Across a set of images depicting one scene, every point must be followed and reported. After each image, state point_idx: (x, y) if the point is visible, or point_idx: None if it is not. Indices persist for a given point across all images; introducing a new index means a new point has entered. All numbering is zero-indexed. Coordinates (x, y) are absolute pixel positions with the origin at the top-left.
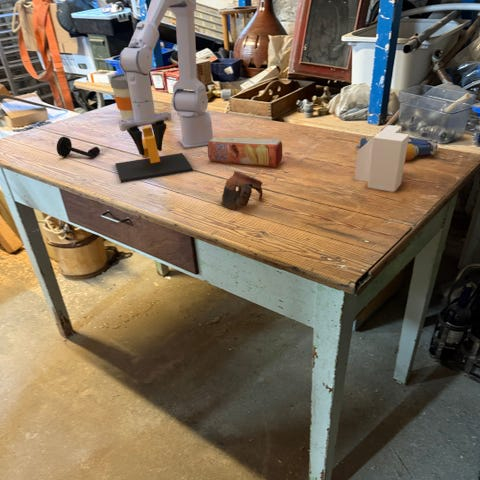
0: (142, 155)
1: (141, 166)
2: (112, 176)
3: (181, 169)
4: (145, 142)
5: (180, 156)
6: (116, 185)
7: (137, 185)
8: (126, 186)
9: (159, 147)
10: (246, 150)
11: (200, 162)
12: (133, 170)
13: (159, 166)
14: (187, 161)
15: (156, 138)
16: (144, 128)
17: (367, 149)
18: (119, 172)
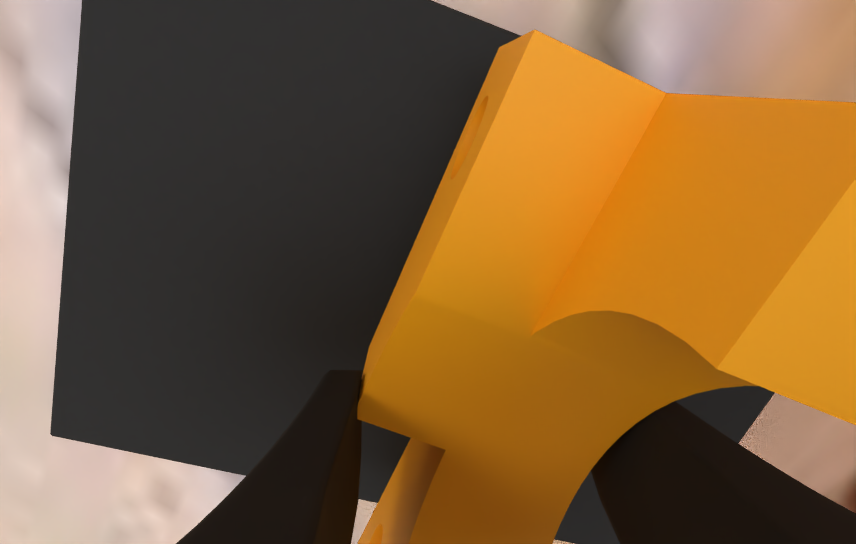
0: (366, 366)
1: (353, 263)
2: (7, 218)
3: (580, 537)
4: (530, 332)
5: None
6: (14, 437)
7: (181, 527)
8: (94, 498)
9: (601, 502)
10: None
11: (815, 443)
12: (234, 309)
13: None
14: (741, 434)
15: (689, 535)
16: (824, 356)
17: None
18: (76, 258)
